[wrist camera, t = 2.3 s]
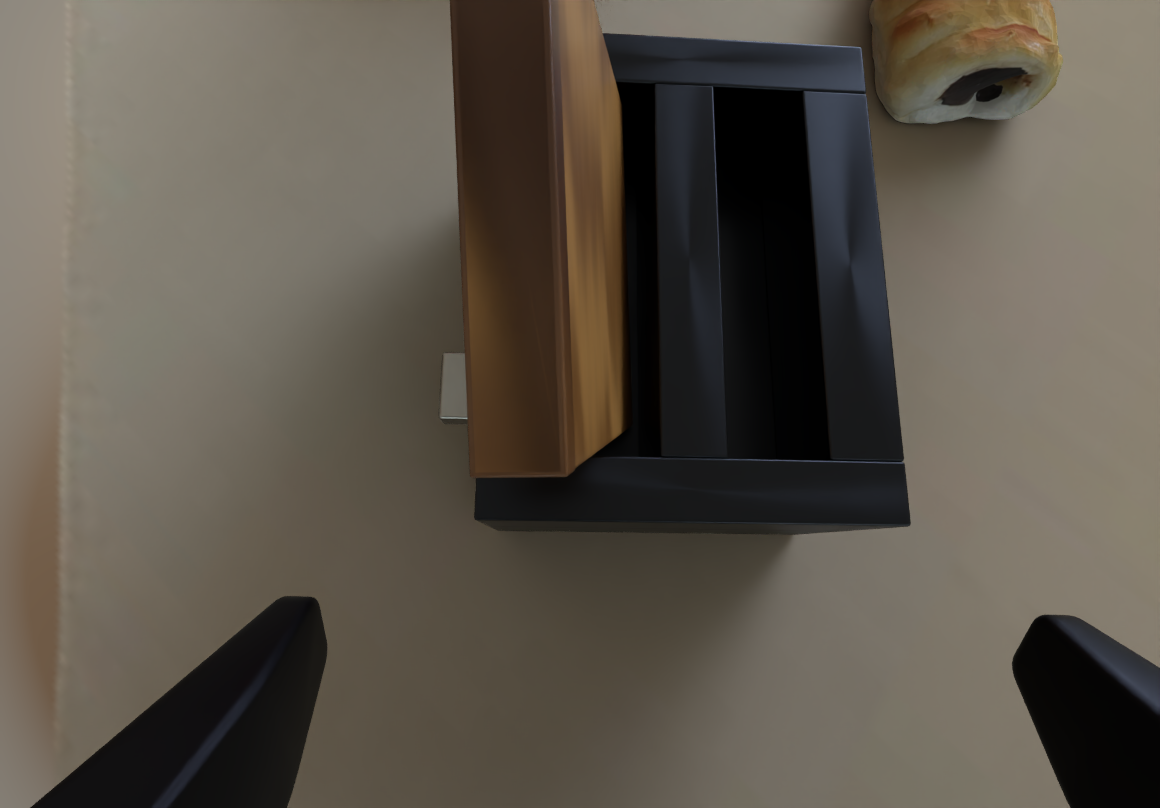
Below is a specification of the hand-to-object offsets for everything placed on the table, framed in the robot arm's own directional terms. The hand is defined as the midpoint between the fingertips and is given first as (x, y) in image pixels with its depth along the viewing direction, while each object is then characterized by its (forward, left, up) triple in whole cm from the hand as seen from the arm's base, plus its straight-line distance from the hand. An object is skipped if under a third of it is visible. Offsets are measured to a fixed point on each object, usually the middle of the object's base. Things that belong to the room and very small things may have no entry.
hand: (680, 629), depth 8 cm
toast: (+8, +2, -8) cm, 12 cm away
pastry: (+24, -9, -13) cm, 29 cm away
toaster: (+8, 0, -13) cm, 16 cm away
